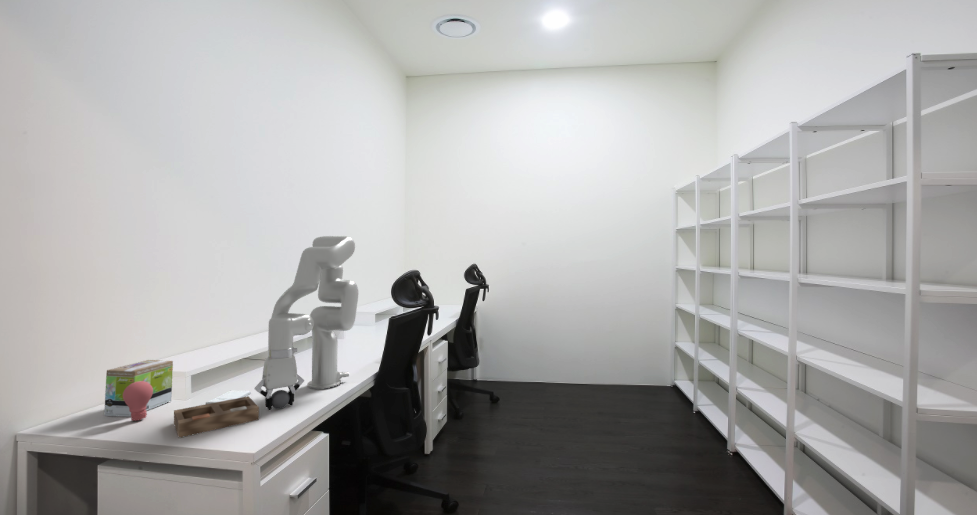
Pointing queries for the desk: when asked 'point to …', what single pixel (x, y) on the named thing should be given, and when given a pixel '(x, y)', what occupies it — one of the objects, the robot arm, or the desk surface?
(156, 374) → the tea box
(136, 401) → the light bulb
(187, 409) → the socket block
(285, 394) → the dark grey ball
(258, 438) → the desk surface
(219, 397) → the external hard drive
